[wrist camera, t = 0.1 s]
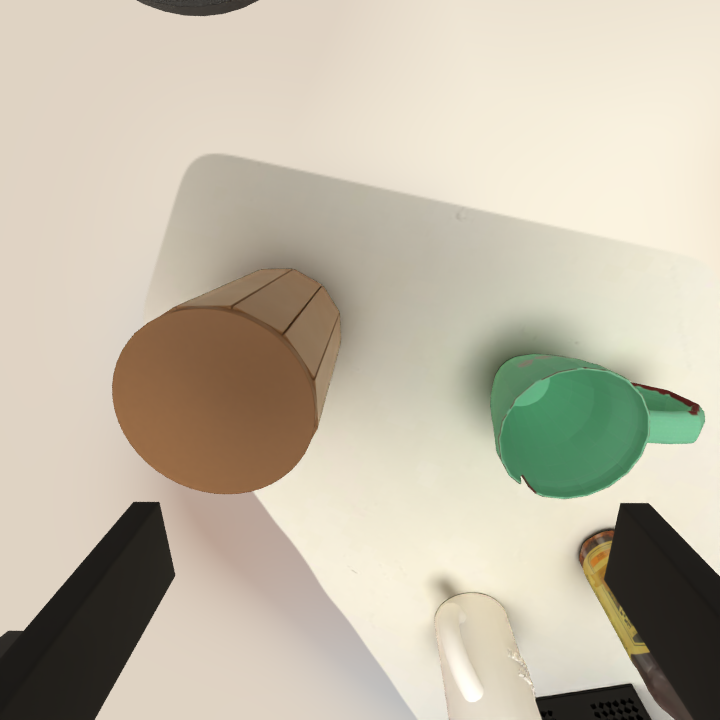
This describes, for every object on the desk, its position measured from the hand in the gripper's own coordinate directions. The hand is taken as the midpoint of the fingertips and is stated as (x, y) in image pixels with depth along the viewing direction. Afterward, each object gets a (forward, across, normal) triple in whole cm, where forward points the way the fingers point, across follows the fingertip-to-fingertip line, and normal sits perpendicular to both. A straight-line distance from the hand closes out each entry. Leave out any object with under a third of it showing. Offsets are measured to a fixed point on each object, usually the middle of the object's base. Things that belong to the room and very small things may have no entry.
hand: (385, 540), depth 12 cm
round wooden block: (+25, -8, 0) cm, 26 cm away
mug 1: (+25, +9, -32) cm, 42 cm away
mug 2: (+25, +15, -5) cm, 30 cm away
